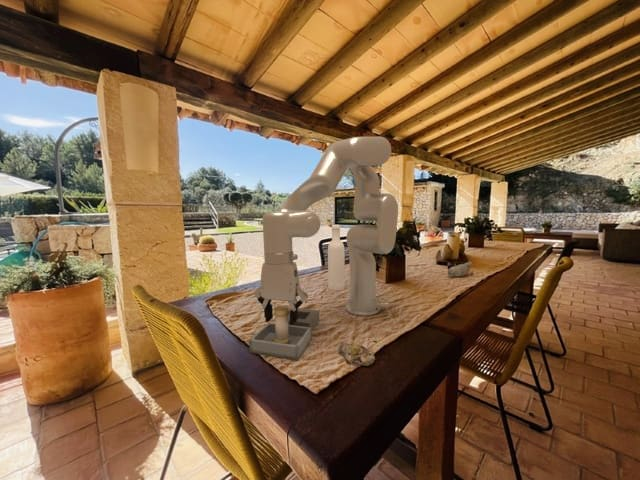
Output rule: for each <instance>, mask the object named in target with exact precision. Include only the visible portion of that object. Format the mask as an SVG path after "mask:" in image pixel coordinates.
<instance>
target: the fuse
mask: <svg viewBox="0 0 640 480" xmlns="http://www.w3.org/2000/svg"><path fill="white" fill-rule="evenodd" d="M273 308H274V310H273V312H274V313H273V314H274V315H273V316H274V317H275V318H274V321H275V322H274V323H275V331H276V337H275V342H276V343H283V344H289V328H288V314H289V310H290V306H288V305H278V306H274V307H273Z"/></svg>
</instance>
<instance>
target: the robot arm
mask: <svg viewBox="0 0 640 480" xmlns="http://www.w3.org/2000/svg"><path fill="white" fill-rule="evenodd" d="M391 156H392V146H391V143H390V142H389V140H388V139H387V138H385V137H383V136H355V137H350V138H345V139H342V140H338V141H335V142H333V143H330V144H329V146H328V147H327V148H326V150H325V151H324V153H323V154H322V157H320V159H319V162H318V163H317V164H316V167H315V169H314V170H313V171H312V173H311V175H310V176H309V177H308V178H307V179H306V180H305V181H304V182H303V183H302V184H301V185H300V186H299V187H297V188H296V189H295V190H294V191H293V192H292V193H291V194H290V195H289V196H288V197H287V199H286V200H285V201H284V203H283V205H282V206H281V208H280V210H279V211H272V212H271V211H269V212H266V213H264V214H263V216H262V233H263V234H262V235H263V237H262V238H263V254H264V256H263V258H264V259H263V260H264V262H263V263H262V266H261V273H260V286H258V288H256V289H255V291H253V292H252V294H253V295H254V297H255V298H256V299H257V301H258V302H259V303H260V304H261V307H262V308H263V313H264V314H263V315H264V319H265V320H264V321H265V323H268V322H269V323H270V321H271V320H272V319H273V318H274V315H273V314H274V313H273V312H274V310H273V308H274V307H273V304H272V301H281V302H287V303H288V305H289V308H290V309H291V311H290V324H291V325H294V323H295V322H296V321H297V320H298V308H300V307H301V306H302V305H303V303H305V301H307V299H308V298H309V295H308V293H306V292H305V291H304V290H303V289H302V288H301V285H300V275H299V270H298V266H297V262H296V260H298V254H295V253H294V251H293V238H311V237H314V236H316V234H318V232H319V231H320V229H321V220H320V217H319V216H318V215H317V214H316V213H315V212H314V211H311V210H308V208H310V207H311V206H313V205H314V204H315V203H316V204H317V202H320V201H323V200H324V199H326V198H327V197H329V196H331V195H332V194H333V193H335V191H336V190H337V187H338V186H339V184H340V182H341V181H342V178H343V176H344V175H345V172H346V171H347V170H348V169H350V171H351V173H352V174H353V177H354V179H355V189H354V199H353V200H354V201H353V216H354V218H356V220H358V221H363V222H377V223H376V225H375V224H374V225H372V224H356V225H355V224H354V226H351V227H350V228H349V229H348V230H347V233H346V245H347V249H348V256H349V302H347V303H346V304H345V311H347V312H348V313H350V314H352V315H355V316H360V317H361V316H362V317H364V316H365V317H366V316H373V315H377V314H379V312H380V310H381V308H383V309H388V308H389V302H386V301H385V300H381V299H380V300H379V299H378V296H377V293H376V292H377V291H376V288H377V287H376V285H377V284H376V283H377V274H376V273H377V272H376V271H377V263H376V259H375V256H374V255H373V254H379V255H388V254H389V253H391V252H392V251H393V249H394V247H395V243H396V239H397V230H398V229H397V227H398V217H399V204H398V201H397V199H396V197H395V196H394V195H393V194H390V193H385V192H384V193H383V192H382V193H380V185H381V184H380V183H381V182H380V178H379V175H378V174H377V172H376V171H375V169H374V167H375V166H379V165H383V164H385V163H387V162H388V161H389V160H390V157H391ZM373 166H374V167H373ZM297 297H300V298H299V300H298V299H297Z"/></svg>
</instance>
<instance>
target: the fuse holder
mask: <svg viewBox="0 0 640 480" xmlns="http://www.w3.org/2000/svg"><path fill="white" fill-rule="evenodd" d="M290 311H291V308H289V314H288V325H291V324H290ZM319 322H320V310H319V309H318V310H316V309H310V308H309V309H307V308H300V307H298V320H297V321H296V322H295V323H294V326H302V327H311V328H312V331H314V329H315V327H316V326H317V324H318V323H319Z"/></svg>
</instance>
